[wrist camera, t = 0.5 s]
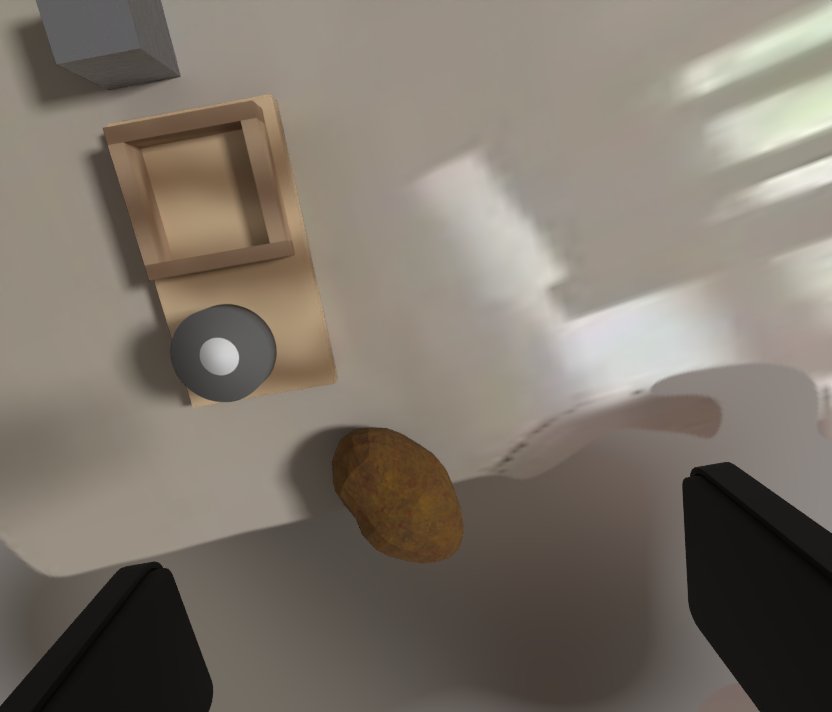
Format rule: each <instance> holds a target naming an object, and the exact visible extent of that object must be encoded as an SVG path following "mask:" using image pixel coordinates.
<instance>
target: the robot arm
mask: <svg viewBox="0 0 832 712" xmlns="http://www.w3.org/2000/svg"><path fill="white" fill-rule="evenodd" d="M682 486H683V487H682V488H683V508H684V526H685V547H686V566H687V584H688V602H689V608H690V612H691V615H692V617H693V619H694V621H695V623H696V625H697V626H698V628H699V629H700V631H701V632H702V633H703V635H704V636H705V638H706V639H707V640H708V642H709V643H710V644H711V646H712V647H713V648H714V650H715V651H716V653H717V654H718V655H719V657H720V658H721V659H722V661H723V662H724V663H725V665H726V666H727V667H728V669H729V670H730V672H731V673H732V674H733V675H734V677H735V678H736V680H737V681H738V682H739V684H740V685H741V686H742V688H743V689H744V691H745V692H746V693H747V695H748V696H749V697H750V699H751V700H752V701H753V703H754V704H755V705H756V707H757V708H758V710H759V711H760V712H832V533H830V532H829V531H828V530H826V529H825V528H823V527H822V526H820V525H819V524H818V523H816V522H815V521H813V520H812V519H811V518H809V517H808V516H806V515H805V514H804V513H802V512H801V511H799V510H798V509H796V508H795V507H794V506H792V505H791V504H789V503H788V502H787V501H785V500H784V499H782V498H781V497H779V496H778V495H776V494H775V493H774V492H772V491H771V490H770V489H768V488H767V487H765V486H764V485H762V484H761V483H760V482H758V481H757V480H755V479H754V478H753V477H751V476H749V475H748V474H747V473H745V472H744V471H743V470H741V469H740V468H738V467H737V466H735V465H734V464H732V463H730V462H723V463H717V464H712V465H706V466H700V467H695V468H694V469H692V471H691V473H690V477H688V478H685V479H684V480H683V484H682ZM212 698H213V684H212V680H211V678H210V675H209V672H208V669H207V667H206V664H205V661H204V659H203V656H202V653H201V650H200V648H199V645H198V642H197V640H196V637H195V634H194V632H193V629H192V626H191V624H190V621H189V618H188V615H187V613H186V610H185V607H184V605H183V602H182V599H181V596H180V593H179V591H178V588H177V585H176V583H175V580H174V577H173V575H172V573H171V571H170V570H169V569H167V568H163V567H162V565H161V564H159V563H158V562H149V563H143V564H137V565H131V566H126V567H123V568H121V569H119V570H118V571H117V572H116V573H115V574H114V575H113V577H112V578H111V579H110V580H109V581H108V582H107V584H106V585H105V586H104V587H103V588H102V589H101V590H100V592H99V593H98V594H97V595H96V596H95V597H94V599H93V600H92V601H91V602H90V603H89V604H88V606H87V607H86V608H85V609H84V610H83V611H82V612H81V614H80V615H79V616H78V617H77V618H76V619H75V621H74V622H73V623H72V624H71V625H70V626H69V627H68V629H67V630H66V631H65V632H64V633H63V634H62V636H61V637H60V638H59V639H58V641H56V642H55V644H54V645H53V646H52V647H51V648H50V649H49V650H48V652H47V653H46V654H45V655H44V656H43V657H42V659H41V660H40V661H39V662H38V663H37V664H36V666H35V667H34V668H33V669H32V670H31V671H30V673H29V674H28V675H27V676H26V677H25V678H24V679H23V681H22V682H21V683H20V684H19V685H18V686H17V687H16V689H15V690H14V691H13V692H12V693H11V695H9V697H8V698H7V699H6V700H5V701H4V702H3V704H2V705H1V706H0V712H209V709H210V706H211V703H212Z"/></svg>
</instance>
